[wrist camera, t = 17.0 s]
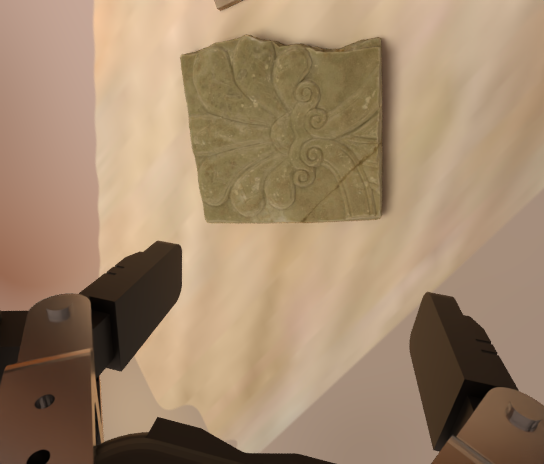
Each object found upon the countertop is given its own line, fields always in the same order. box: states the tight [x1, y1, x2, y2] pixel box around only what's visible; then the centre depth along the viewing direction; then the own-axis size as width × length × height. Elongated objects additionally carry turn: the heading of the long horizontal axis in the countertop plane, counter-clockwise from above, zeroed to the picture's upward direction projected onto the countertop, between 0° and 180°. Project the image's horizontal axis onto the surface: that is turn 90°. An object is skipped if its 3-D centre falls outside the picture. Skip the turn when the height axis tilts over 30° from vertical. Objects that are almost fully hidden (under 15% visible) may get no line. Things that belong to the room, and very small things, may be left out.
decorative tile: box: [180, 35, 382, 223], centre depth 36 cm, size 19×20×4 cm
